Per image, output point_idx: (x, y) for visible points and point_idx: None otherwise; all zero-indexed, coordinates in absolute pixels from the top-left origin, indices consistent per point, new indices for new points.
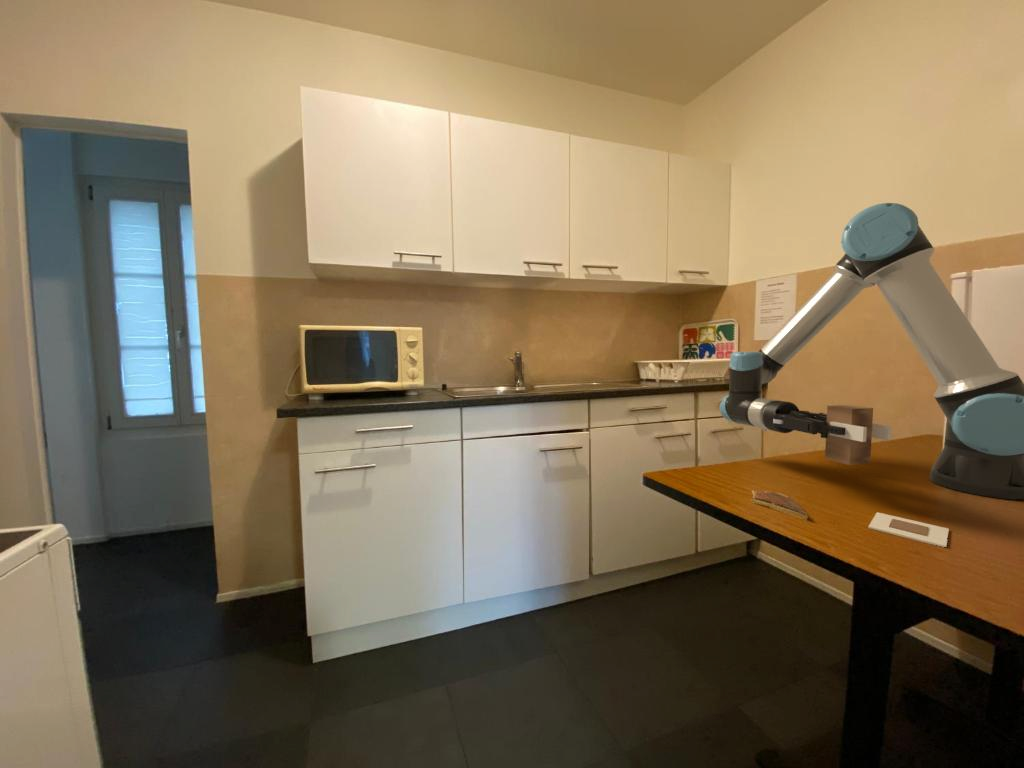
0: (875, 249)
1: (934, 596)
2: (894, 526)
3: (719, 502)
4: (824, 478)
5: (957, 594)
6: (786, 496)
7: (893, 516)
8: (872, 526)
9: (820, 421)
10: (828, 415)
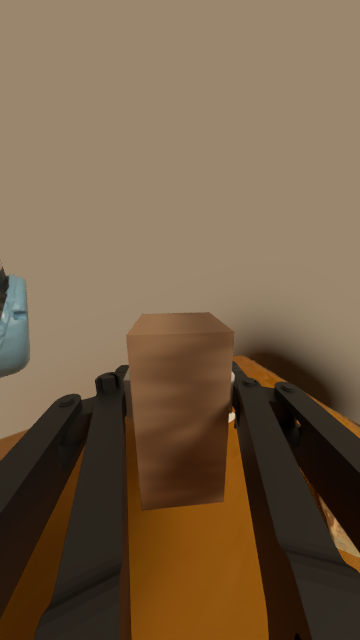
0: None
1: (255, 364)
2: None
3: None
4: None
5: (242, 364)
6: (337, 524)
7: None
8: (232, 415)
9: (256, 392)
10: (229, 365)
